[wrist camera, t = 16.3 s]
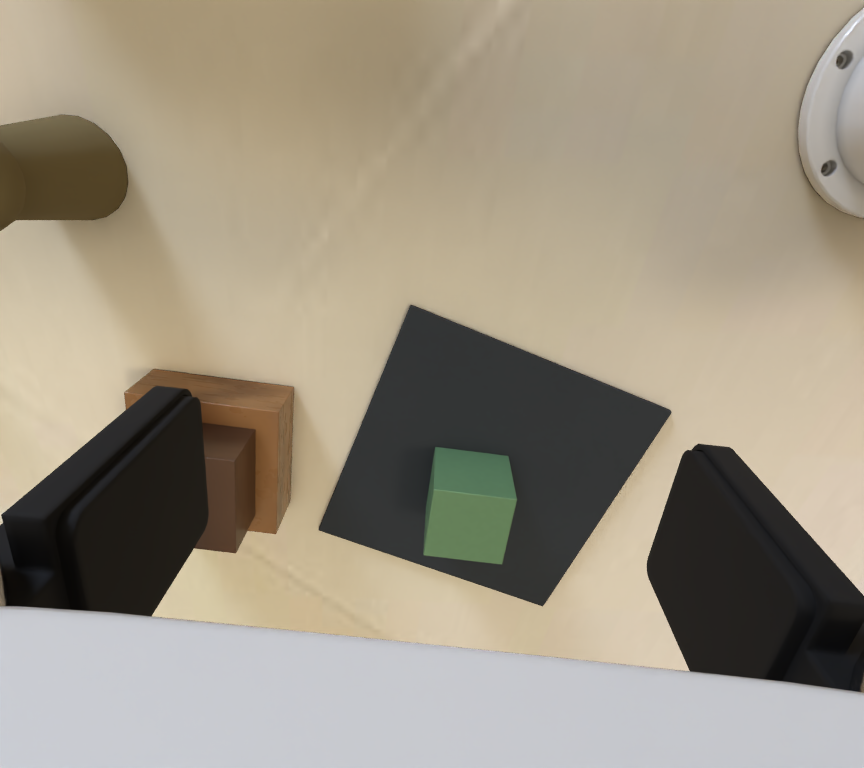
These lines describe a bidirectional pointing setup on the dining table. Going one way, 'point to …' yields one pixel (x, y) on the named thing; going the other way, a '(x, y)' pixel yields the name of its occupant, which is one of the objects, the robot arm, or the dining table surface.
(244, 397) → the oak block
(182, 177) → the dining table surface
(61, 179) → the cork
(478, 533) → the green block
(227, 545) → the walnut block
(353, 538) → the mat
